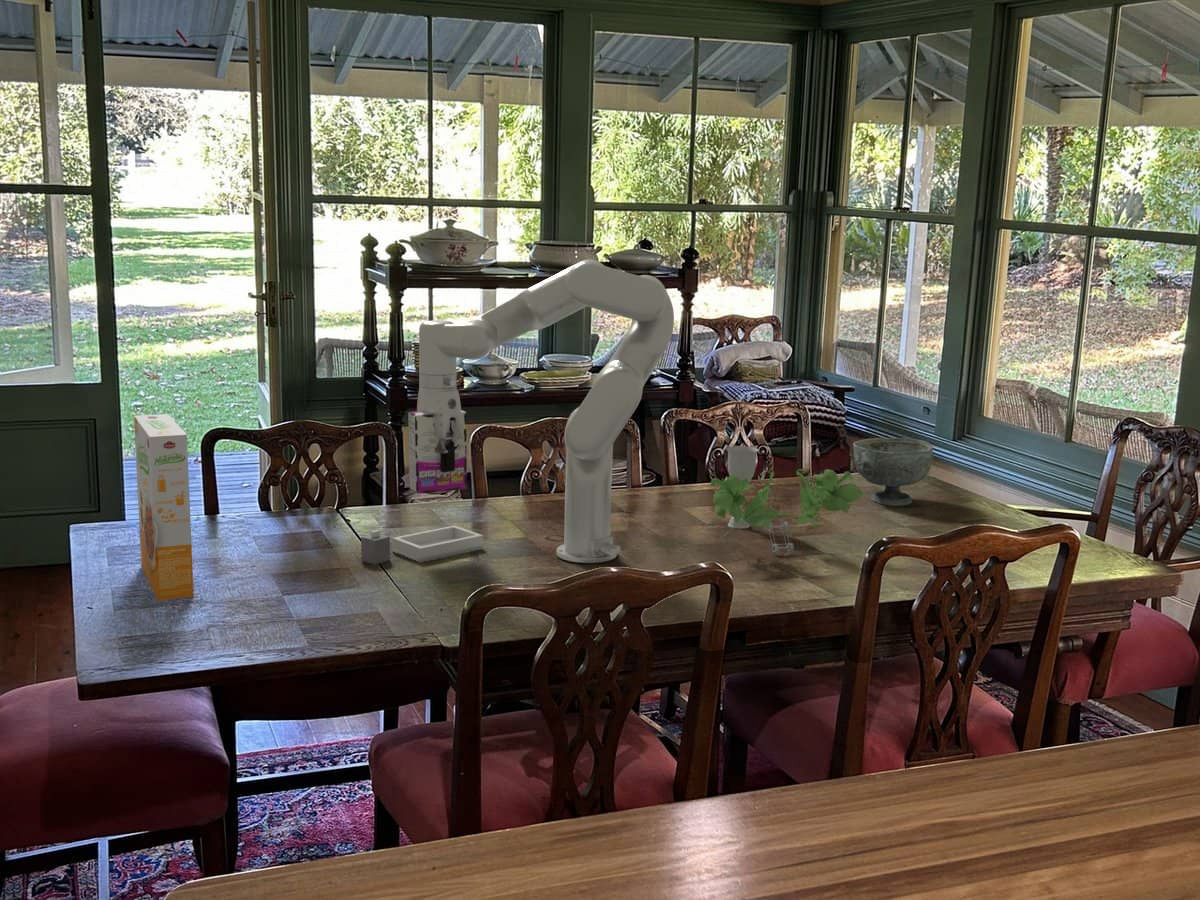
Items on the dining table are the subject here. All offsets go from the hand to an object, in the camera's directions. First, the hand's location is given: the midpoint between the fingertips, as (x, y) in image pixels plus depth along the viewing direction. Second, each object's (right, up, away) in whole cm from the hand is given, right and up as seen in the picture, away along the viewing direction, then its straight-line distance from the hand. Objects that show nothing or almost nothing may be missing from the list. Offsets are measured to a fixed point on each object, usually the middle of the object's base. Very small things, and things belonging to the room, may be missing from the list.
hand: (438, 467), depth 253 cm
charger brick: (-12, -19, -4) cm, 23 cm away
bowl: (+106, -9, +57) cm, 121 cm away
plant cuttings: (+70, -18, +12) cm, 74 cm away
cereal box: (-49, -21, -21) cm, 57 cm away
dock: (-1, -17, +4) cm, 18 cm away
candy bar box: (0, -5, +1) cm, 5 cm away
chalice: (+65, -14, +30) cm, 73 cm away
